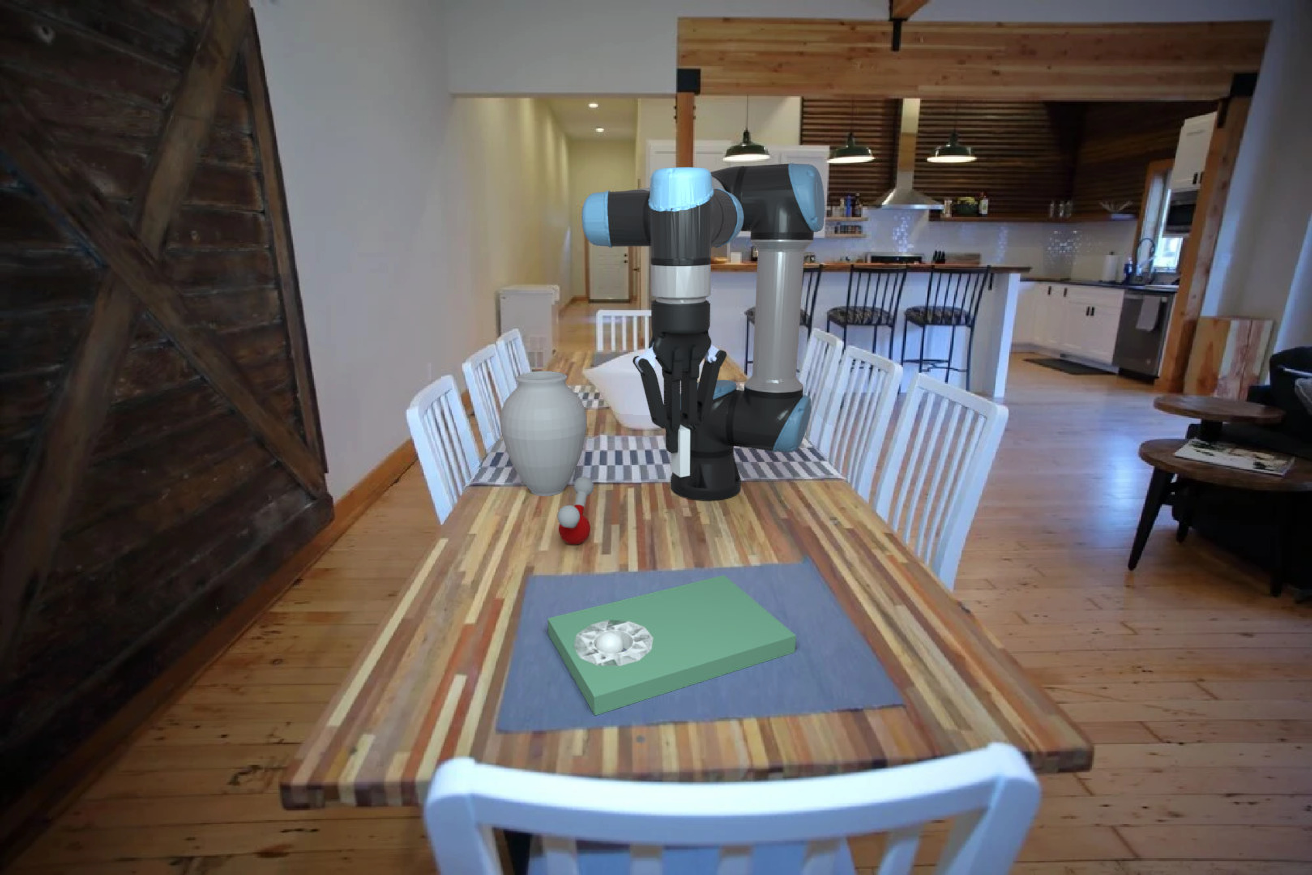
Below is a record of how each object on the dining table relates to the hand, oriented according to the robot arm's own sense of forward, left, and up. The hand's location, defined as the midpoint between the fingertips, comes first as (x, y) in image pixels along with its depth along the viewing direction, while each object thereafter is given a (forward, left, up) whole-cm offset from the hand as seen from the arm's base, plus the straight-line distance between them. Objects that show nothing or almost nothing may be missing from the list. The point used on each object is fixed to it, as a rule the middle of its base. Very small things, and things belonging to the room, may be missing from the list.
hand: (680, 473), depth 92 cm
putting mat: (+5, +7, -21) cm, 23 cm away
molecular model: (+6, -28, -21) cm, 35 cm away
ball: (+14, +7, -19) cm, 25 cm away
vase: (+3, -55, -21) cm, 59 cm away
